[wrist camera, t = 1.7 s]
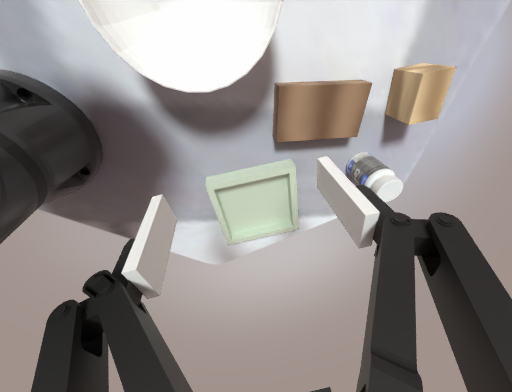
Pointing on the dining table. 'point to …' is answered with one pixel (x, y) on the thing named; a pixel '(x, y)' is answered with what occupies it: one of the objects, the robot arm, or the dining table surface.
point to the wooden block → (418, 92)
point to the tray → (255, 201)
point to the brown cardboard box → (319, 109)
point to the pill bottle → (374, 176)
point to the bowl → (187, 38)
